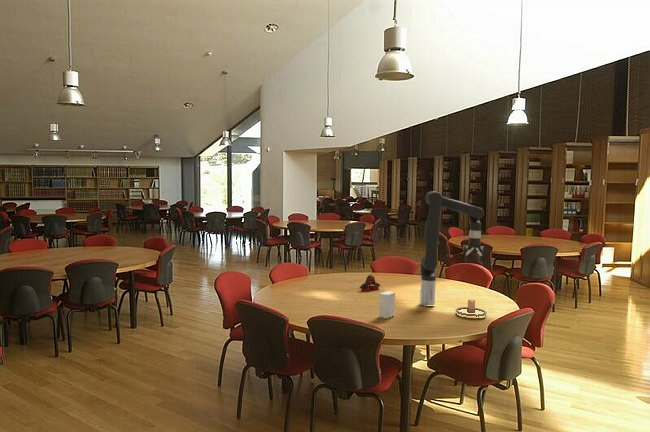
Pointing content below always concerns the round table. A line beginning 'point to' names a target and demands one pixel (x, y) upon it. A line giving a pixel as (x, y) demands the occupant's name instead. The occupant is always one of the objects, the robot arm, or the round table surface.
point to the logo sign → (369, 288)
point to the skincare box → (387, 304)
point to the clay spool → (471, 306)
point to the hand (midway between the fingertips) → (473, 261)
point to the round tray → (471, 314)
